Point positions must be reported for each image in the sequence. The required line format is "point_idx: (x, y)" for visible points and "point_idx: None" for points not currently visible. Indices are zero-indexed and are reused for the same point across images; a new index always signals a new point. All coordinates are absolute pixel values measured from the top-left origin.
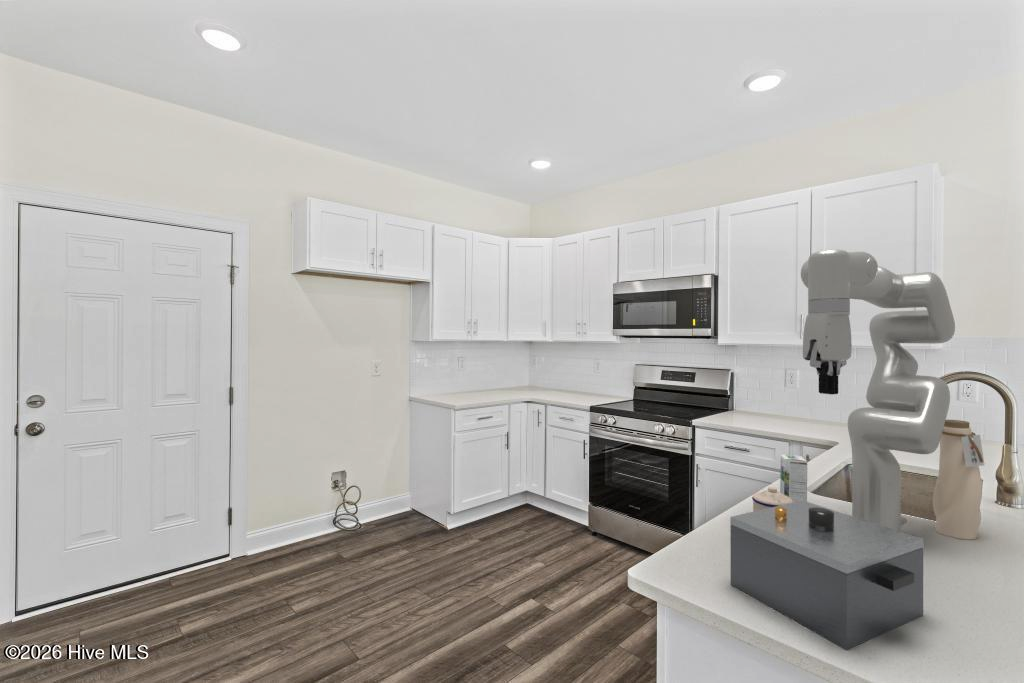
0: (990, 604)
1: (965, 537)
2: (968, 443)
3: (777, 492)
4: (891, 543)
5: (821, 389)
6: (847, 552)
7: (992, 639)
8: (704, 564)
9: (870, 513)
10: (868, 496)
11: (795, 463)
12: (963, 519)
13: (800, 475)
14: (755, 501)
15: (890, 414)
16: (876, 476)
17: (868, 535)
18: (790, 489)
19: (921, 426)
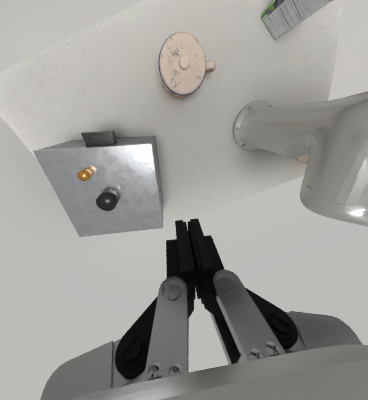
0: (204, 206)
1: (297, 158)
2: None
3: (187, 69)
4: (135, 226)
5: (167, 240)
6: (94, 227)
7: (171, 220)
8: (66, 102)
9: (249, 135)
10: (258, 135)
11: None
12: (306, 162)
13: (307, 4)
14: (159, 56)
15: (362, 180)
16: (273, 145)
17: (133, 215)
18: (282, 5)
19: (324, 213)
